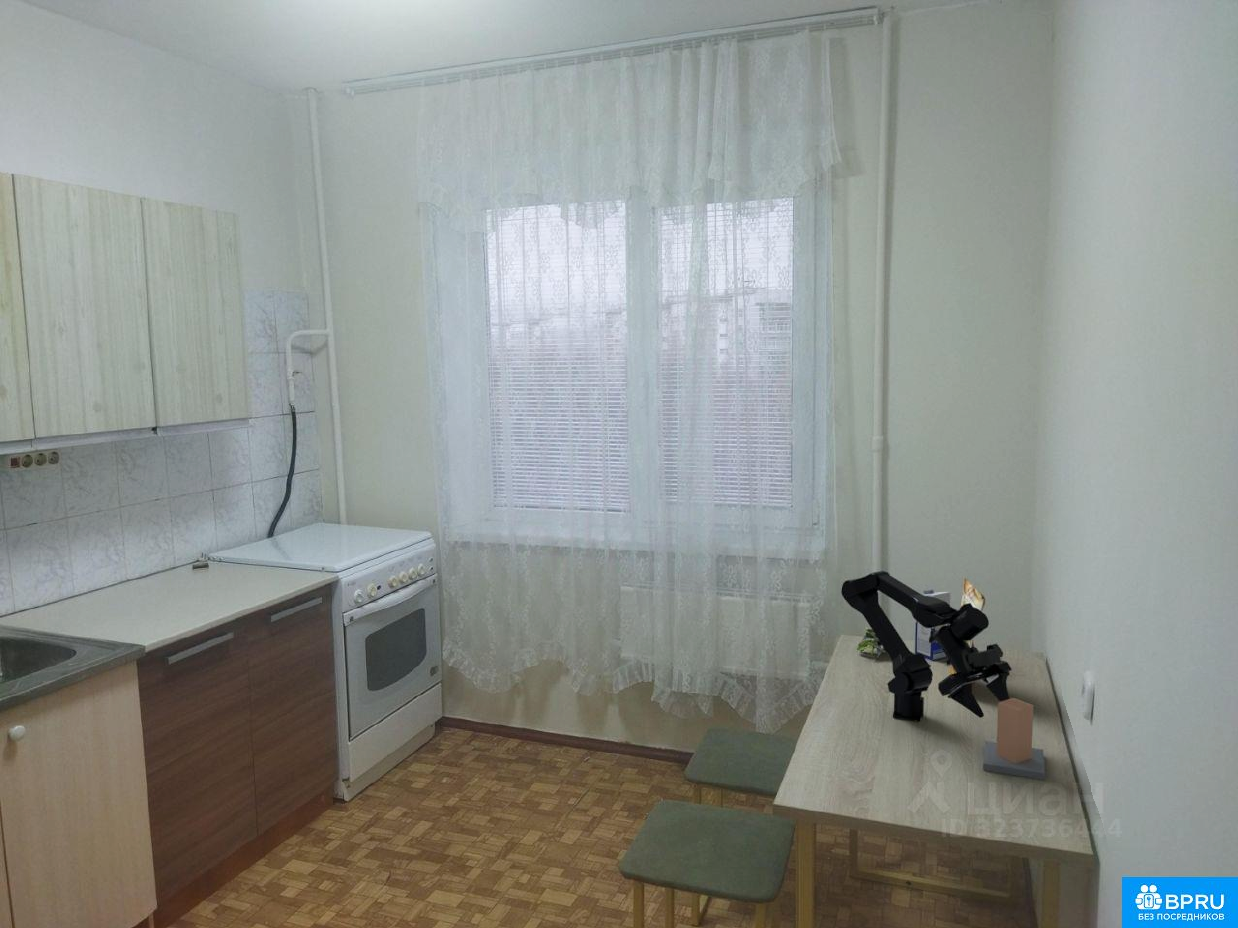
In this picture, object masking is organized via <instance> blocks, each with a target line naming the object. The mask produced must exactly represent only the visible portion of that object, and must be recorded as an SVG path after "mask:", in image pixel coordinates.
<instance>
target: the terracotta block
mask: <svg viewBox="0 0 1238 928" xmlns="http://www.w3.org/2000/svg"><path fill="white" fill-rule="evenodd" d="M1033 725H1034V705H1033V704H1031V703H1028V702H1026V701H1023V700H1020V699H1018V698H1014V697H1011V698H1010V699H1008V700H1004V701H1001V702H1000V701H998V702H997V726H996V728H997V729H996V743H997V749H996V755H998V756H1000V757H1003V758H1005V759H1007V760H1009V761H1012V762H1014V763H1016V764H1017V763H1020V762H1022V761H1025V760H1028V759H1031V754H1032V748H1033V731H1034V729H1033V727H1034V726H1033Z"/></svg>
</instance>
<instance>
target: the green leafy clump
mask: <svg viewBox="0 0 1238 928" xmlns="http://www.w3.org/2000/svg"><path fill="white" fill-rule="evenodd" d="M865 629H866V631H864V632H865V633H864V634H865V635H864V636H863V638H862V640H860V642H859V643H858V645H857V647H856V650H857V651H860V653H863V652H864V650H865V649H869V648H870V651H869V652H870V654H871V655H872V656H874V650H875V649H876V653H877V656H876V658H875V661H878V658H879V657H880V656H881V653H882V652H885V653H887V652H886V650H885V649H884V647H883V645H882V644H881V642H880V641H879V639H878V638H877V636H876V635H875V633H874V631H873V630H872V628H868V627H866V628H865ZM882 647H883V648H882ZM887 654H888V653H887Z"/></svg>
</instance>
